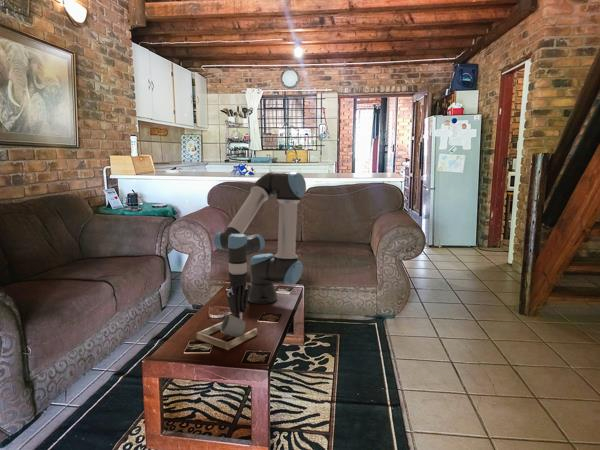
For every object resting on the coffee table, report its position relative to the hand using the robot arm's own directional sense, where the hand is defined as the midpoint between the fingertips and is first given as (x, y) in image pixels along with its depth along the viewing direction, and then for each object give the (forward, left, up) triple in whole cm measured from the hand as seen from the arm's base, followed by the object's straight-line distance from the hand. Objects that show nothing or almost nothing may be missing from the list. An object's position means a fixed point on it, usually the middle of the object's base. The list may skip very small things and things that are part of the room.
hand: (239, 326), depth 173 cm
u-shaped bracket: (+7, 0, -2) cm, 7 cm away
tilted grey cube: (+5, +3, -2) cm, 6 cm away
